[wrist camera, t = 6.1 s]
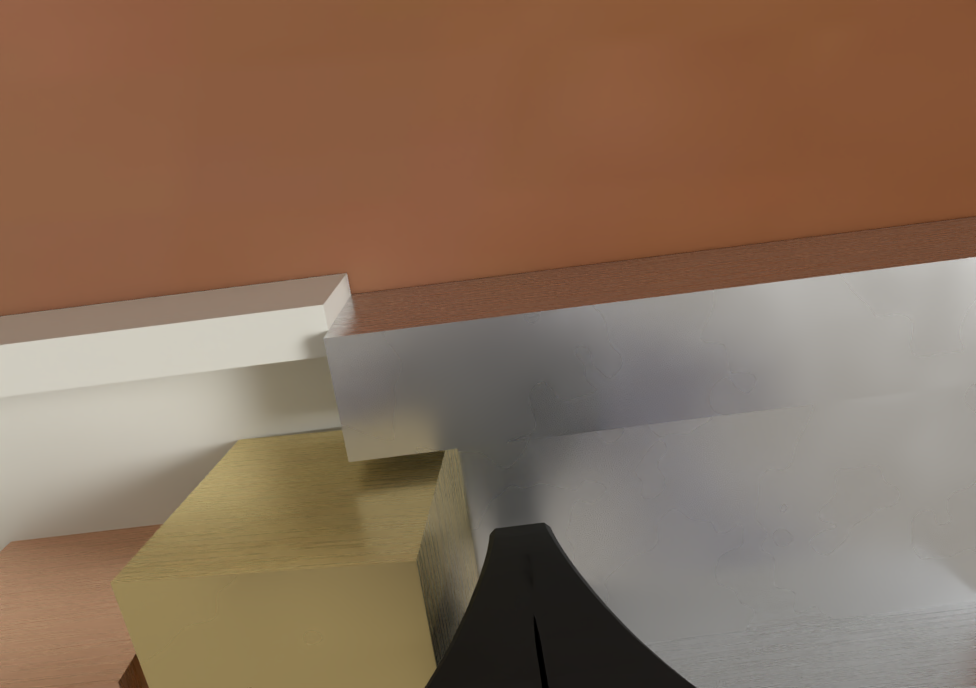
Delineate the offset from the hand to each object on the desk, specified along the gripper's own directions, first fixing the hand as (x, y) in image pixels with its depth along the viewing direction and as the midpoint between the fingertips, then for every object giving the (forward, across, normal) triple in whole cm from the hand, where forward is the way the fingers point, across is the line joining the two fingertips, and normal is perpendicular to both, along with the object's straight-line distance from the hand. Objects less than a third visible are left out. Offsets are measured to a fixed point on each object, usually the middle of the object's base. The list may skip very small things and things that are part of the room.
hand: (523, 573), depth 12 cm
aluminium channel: (+2, -4, 0) cm, 4 cm away
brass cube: (+1, +3, -1) cm, 3 cm away
